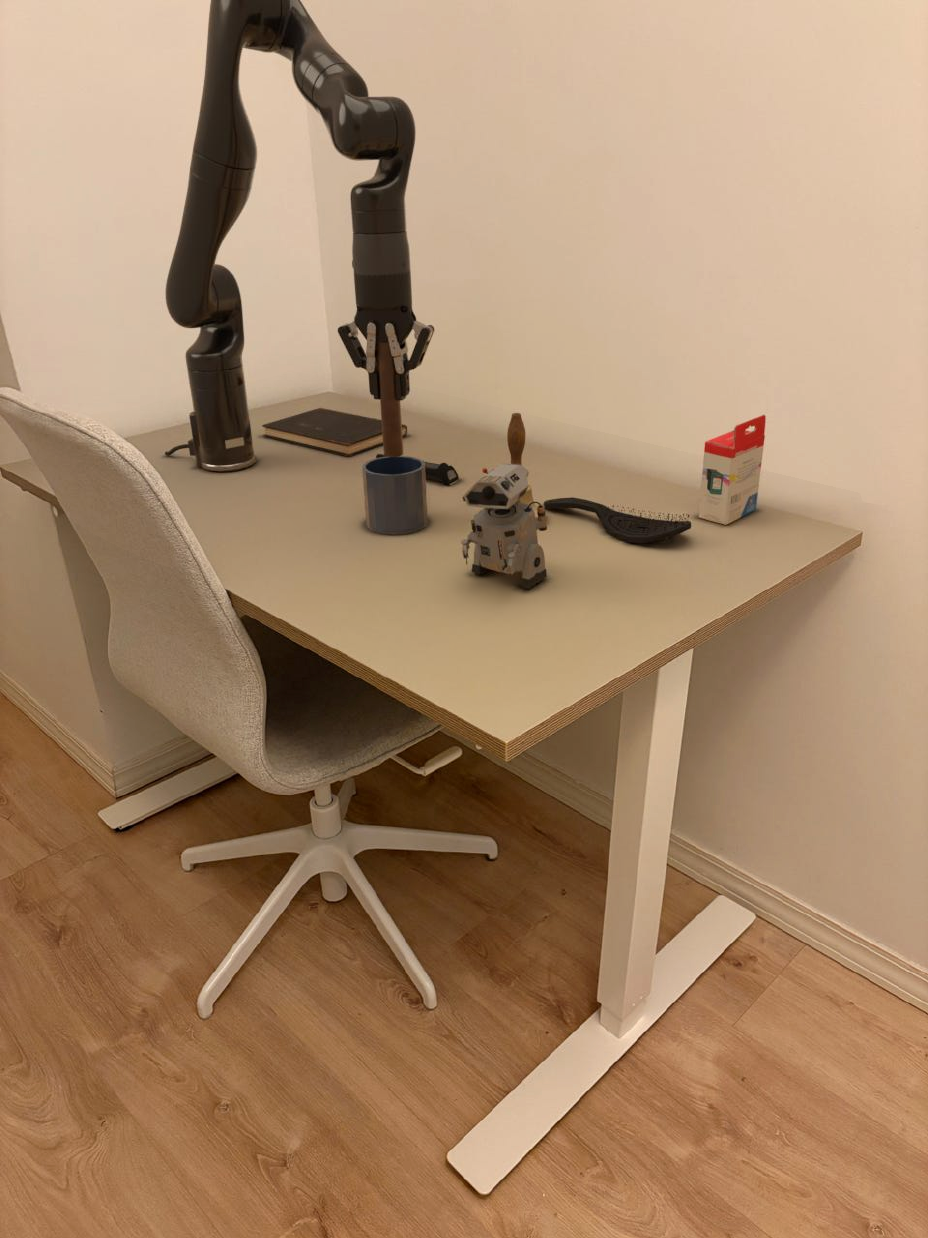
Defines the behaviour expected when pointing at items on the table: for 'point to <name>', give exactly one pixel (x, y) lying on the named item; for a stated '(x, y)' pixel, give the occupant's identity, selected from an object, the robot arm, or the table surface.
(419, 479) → the cup
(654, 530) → the hairbrush
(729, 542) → the table surface
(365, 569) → the table surface
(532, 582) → the figurine
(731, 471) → the ink box
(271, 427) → the hardcover book
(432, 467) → the electric trimmer
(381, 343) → the stick
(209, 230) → the robot arm
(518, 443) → the hand bell
